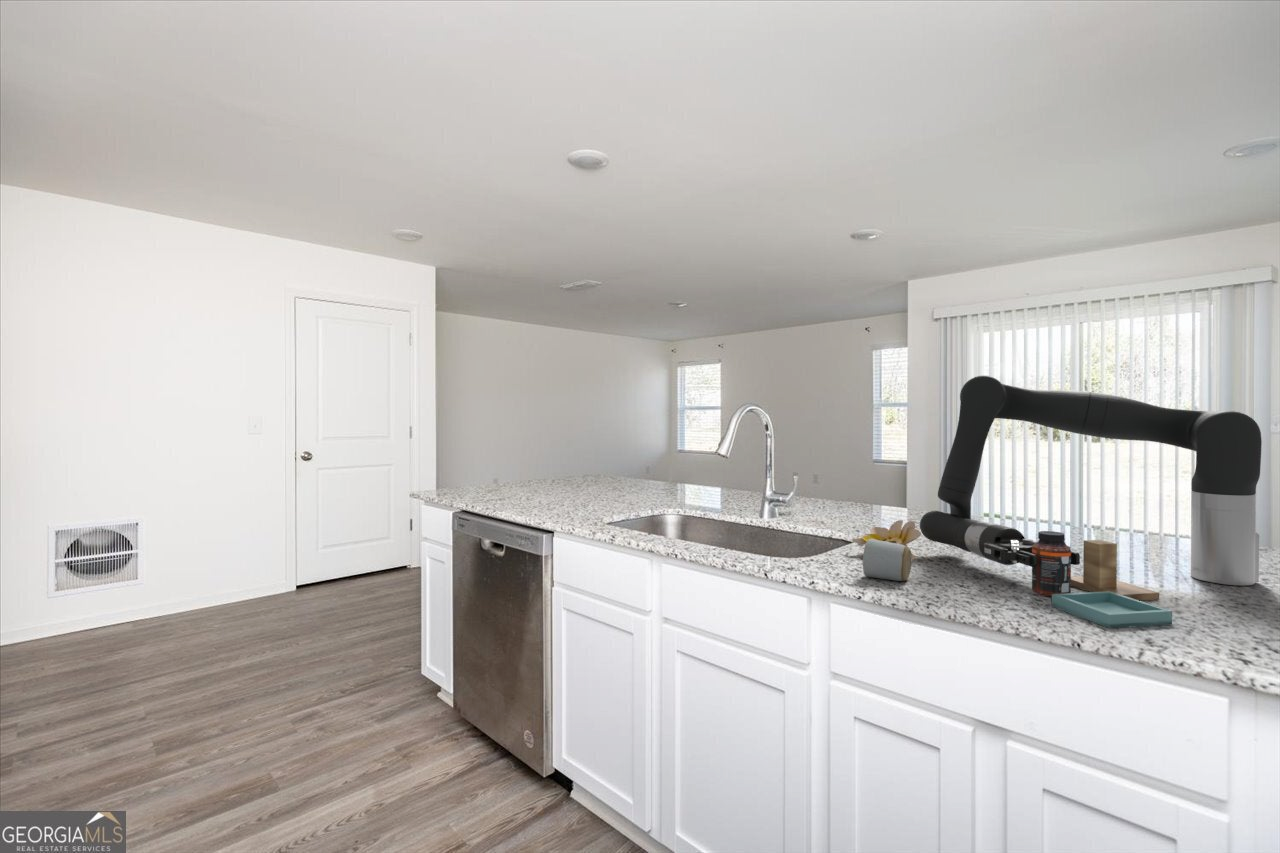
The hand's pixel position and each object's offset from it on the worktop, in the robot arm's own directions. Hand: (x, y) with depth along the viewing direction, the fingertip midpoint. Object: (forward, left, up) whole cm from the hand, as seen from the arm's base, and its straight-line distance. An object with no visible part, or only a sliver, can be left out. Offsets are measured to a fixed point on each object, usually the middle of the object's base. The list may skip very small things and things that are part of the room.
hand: (1057, 560), depth 112 cm
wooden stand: (-12, -1, -7) cm, 14 cm away
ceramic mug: (+23, -17, -7) cm, 30 cm away
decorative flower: (+14, -34, -7) cm, 38 cm away
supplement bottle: (0, -1, -7) cm, 7 cm away
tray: (0, +11, -7) cm, 13 cm away
